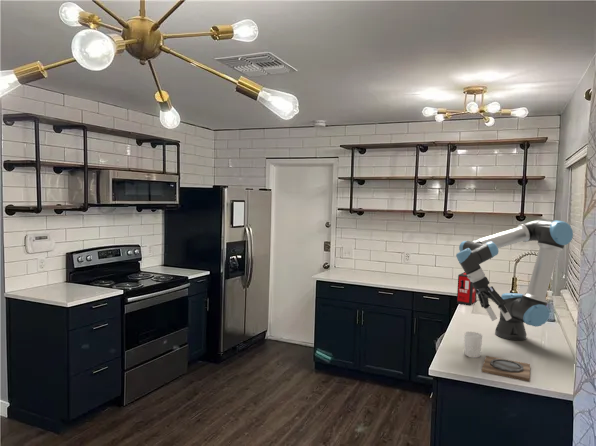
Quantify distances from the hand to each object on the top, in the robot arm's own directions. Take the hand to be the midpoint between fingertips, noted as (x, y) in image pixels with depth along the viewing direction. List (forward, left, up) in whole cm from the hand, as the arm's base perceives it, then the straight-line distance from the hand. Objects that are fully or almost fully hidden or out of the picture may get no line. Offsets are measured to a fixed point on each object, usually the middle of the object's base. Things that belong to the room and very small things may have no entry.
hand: (501, 319), depth 211 cm
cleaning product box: (-71, -73, -17) cm, 104 cm away
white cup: (+14, -5, -17) cm, 22 cm away
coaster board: (+15, +13, -16) cm, 26 cm away
